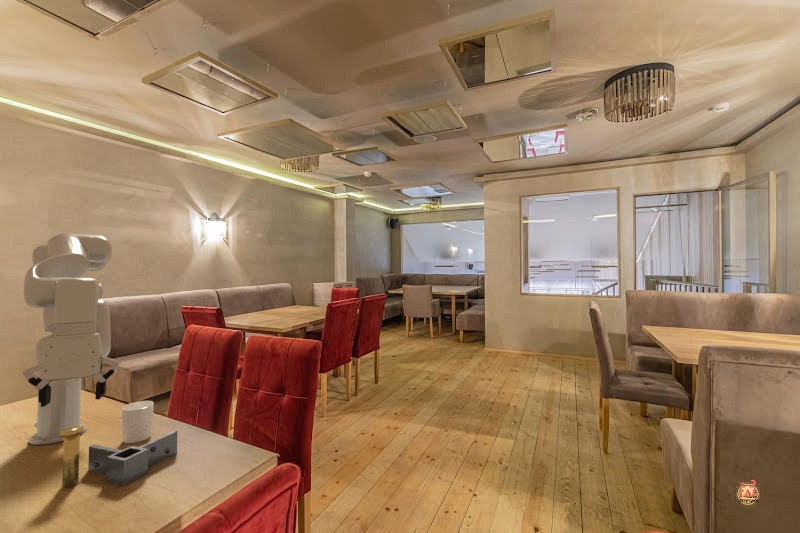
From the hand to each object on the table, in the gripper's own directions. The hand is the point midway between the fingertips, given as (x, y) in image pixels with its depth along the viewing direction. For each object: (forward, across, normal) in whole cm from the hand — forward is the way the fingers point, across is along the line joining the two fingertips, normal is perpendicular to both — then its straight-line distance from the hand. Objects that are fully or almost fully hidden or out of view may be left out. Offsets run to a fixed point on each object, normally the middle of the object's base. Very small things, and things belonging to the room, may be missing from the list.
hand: (73, 401), depth 82 cm
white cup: (+20, +9, +22) cm, 31 cm away
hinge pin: (+20, 0, 0) cm, 20 cm away
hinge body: (+20, +11, +5) cm, 23 cm away
